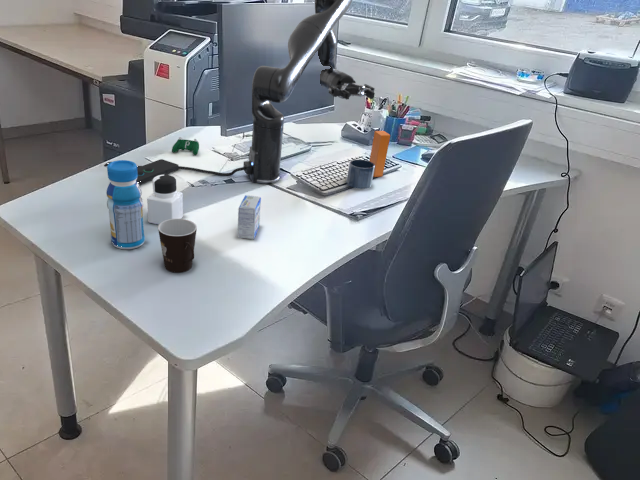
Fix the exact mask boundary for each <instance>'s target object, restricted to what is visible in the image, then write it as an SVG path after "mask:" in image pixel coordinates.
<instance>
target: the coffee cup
mask: <svg viewBox="0 0 640 480" xmlns="http://www.w3.org/2000/svg"><path fill="white" fill-rule="evenodd" d="M348 163H349V164H348V169H347V174H346V175H347V176H346V185H347V186H349V187H351V188H353V189H359V190H366V189H370V188H371V187H372V184H373V178H374V177H373V174H374V168H375V164H374V163H373V162H370V160H366V159H352V160H350V161H349V162H348Z"/></svg>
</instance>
